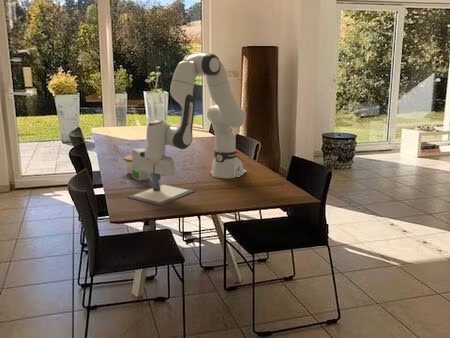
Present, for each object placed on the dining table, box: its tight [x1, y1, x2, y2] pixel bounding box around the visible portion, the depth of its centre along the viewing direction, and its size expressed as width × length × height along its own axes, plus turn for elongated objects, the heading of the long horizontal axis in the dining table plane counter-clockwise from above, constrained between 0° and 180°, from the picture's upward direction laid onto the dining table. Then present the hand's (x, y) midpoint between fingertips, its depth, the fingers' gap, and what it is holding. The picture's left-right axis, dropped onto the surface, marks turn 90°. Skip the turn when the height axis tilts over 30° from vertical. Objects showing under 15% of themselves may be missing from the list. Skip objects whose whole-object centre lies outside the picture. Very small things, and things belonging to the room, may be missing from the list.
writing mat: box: [127, 183, 195, 207], centre depth 225 cm, size 26×20×1 cm
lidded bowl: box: [123, 154, 132, 175], centre depth 260 cm, size 13×13×11 cm
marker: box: [152, 163, 161, 191], centre depth 227 cm, size 4×4×14 cm
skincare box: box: [131, 147, 150, 181], centre depth 250 cm, size 8×7×16 cm
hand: (156, 181), depth 228 cm, fingers closed on marker, 4 cm apart
